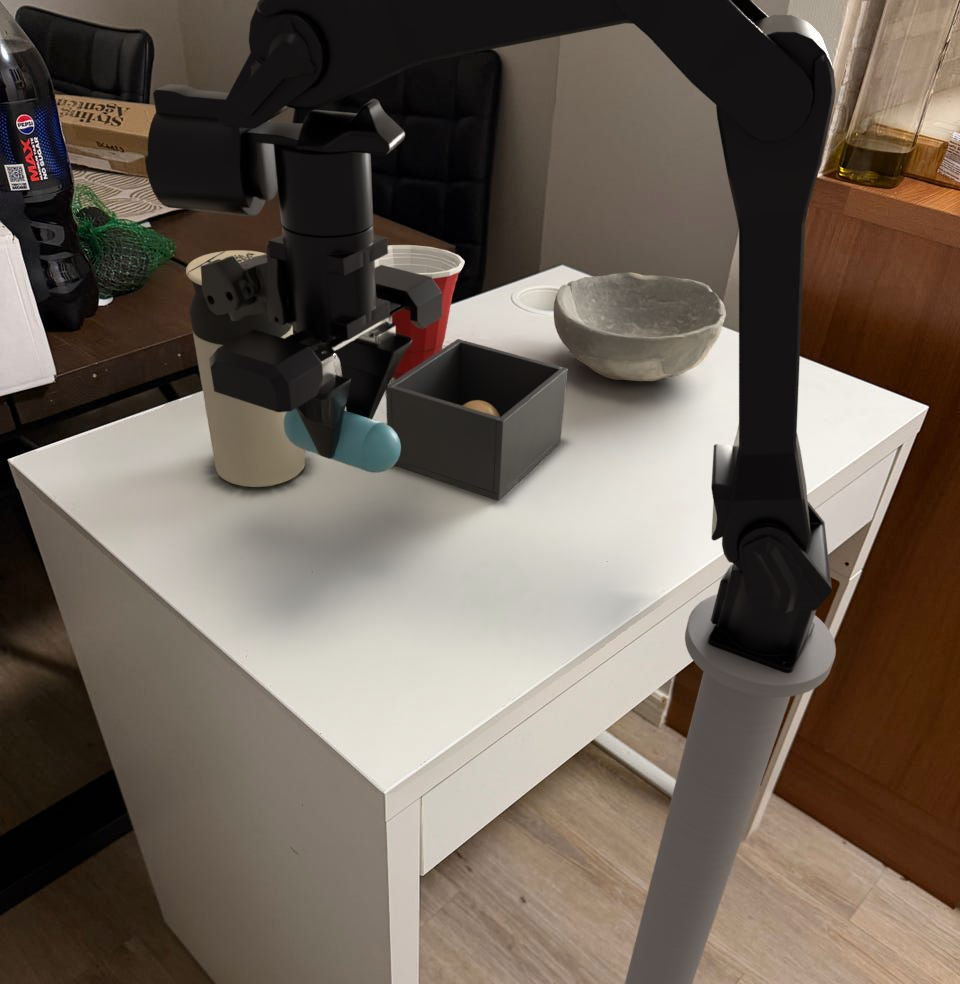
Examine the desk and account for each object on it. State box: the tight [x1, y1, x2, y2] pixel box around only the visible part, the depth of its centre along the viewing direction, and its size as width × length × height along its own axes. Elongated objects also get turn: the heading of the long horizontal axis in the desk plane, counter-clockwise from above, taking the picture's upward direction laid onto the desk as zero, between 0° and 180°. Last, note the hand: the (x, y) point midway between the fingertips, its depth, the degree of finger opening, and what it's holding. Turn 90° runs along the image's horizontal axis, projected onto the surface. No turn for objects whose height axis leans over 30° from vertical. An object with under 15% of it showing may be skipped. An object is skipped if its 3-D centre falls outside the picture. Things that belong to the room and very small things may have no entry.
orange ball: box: [463, 400, 500, 417], centre depth 88 cm, size 4×4×4 cm
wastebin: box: [385, 338, 569, 501], centre depth 87 cm, size 12×12×8 cm
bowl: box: [553, 272, 727, 382], centre depth 102 cm, size 18×18×8 cm
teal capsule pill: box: [284, 409, 401, 474], centre depth 69 cm, size 10×4×4 cm, turn 60°
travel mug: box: [185, 249, 306, 488], centre depth 80 cm, size 8×8×18 cm
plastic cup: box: [375, 244, 465, 379], centre depth 99 cm, size 11×11×12 cm
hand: (342, 445), depth 70 cm, fingers closed on teal capsule pill, 3 cm apart
